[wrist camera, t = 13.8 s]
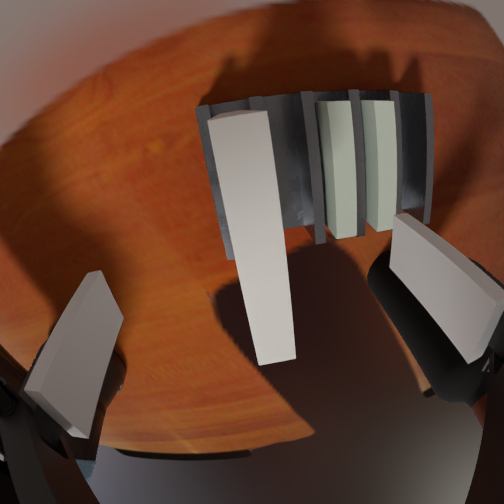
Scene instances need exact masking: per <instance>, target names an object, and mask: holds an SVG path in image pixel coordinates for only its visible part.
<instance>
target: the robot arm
mask: <svg viewBox="0 0 504 504" xmlns="http://www.w3.org/2000/svg"><path fill="white" fill-rule="evenodd" d="M389 267H390V269H391V270H392V271H393V272H394V273H395V274H396V275H397V276H398V277H399V279H400V280H401V281H402V282H403V283H404V284H405V285H406V286H407V288H408V289H409V290H410V291H411V292H412V293H413V295H414V296H415V297H416V298H417V299H418V300H419V302H420V303H421V304H422V305H423V306H424V308H425V309H426V310H427V311H428V312H429V314H430V315H431V316H432V317H433V319H434V320H435V321H436V322H437V324H438V325H439V326H440V327H441V329H442V330H443V331H444V332H445V334H446V335H447V336H448V338H449V339H450V340H451V342H452V343H453V344H454V345H455V347H456V348H457V349H458V351H459V352H460V354H461V355H462V356H463V358H464V359H465V360H466V362H467V363H468V364H469V363H471V362H473V361H474V360H476V359H478V358H480V357H481V356H482V355H483V353H484V351H485V349H486V347H487V346H488V344H489V346H490V347H491V348H492V351H491V352H490V354H489V356H488V358H487V360H486V361H485V363H484V365H483V367H482V370H481V371H484V370H485V368H486V367H487V365H488V364H489V369H488V370H487V372H489V379H488V394H487V405H486V414H485V421H484V428H483V434H482V440H481V445H480V450H479V455H478V459H477V464H476V468H475V472H474V475H473V479H472V483H471V486H470V489H469V493H468V496H467V499H466V502H465V504H504V285H503V284H502V283H501V282H500V281H499V280H497V279H496V278H495V277H493V276H492V274H491V273H490V272H488V271H486V269H485V268H484V267H483V266H481V265H480V264H479V263H478V262H476V261H474V260H472V259H470V258H468V257H465V256H464V255H463V254H462V253H460V252H459V251H458V250H457V249H455V248H454V247H453V246H452V245H450V244H449V243H448V242H446V241H445V240H444V239H443V238H441V237H440V236H439V235H437V234H436V233H435V232H433V231H432V230H431V229H429V228H428V227H426V226H425V225H424V224H422V223H421V222H419V221H418V220H417V219H415V218H414V217H412V216H411V215H409V214H408V213H403V214H397V215H394V217H393V233H392V246H391V257H390V266H389ZM123 319H124V317H123V315H122V313H121V311H120V309H119V307H118V305H117V303H116V301H115V299H114V297H113V295H112V293H111V291H110V289H109V287H108V284H107V282H106V280H105V278H104V276H103V273H102V271H101V270H99V271H94V272H90V273H87V275H86V276H85V278H84V279H83V281H82V282H81V284H80V285H79V287H78V289H77V290H76V292H75V293H74V295H73V297H72V298H71V300H70V302H69V303H68V305H67V307H66V308H65V310H64V312H63V313H62V315H61V317H60V319H59V320H58V322H57V324H56V326H55V328H54V329H53V331H52V333H51V335H50V337H49V338H48V339H47V340H46V341H45V343H44V344H43V345H42V346H41V347H40V349H39V351H38V353H37V355H36V359H34V361H33V363H32V366H31V367H30V369H29V371H27V370H26V369H25V368H24V367H23V366H22V365H20V364H19V363H18V362H17V361H16V360H15V359H14V358H13V357H12V356H11V355H10V354H9V353H8V352H7V351H6V350H5V349H4V347H3V346H2V345H1V344H0V453H1V454H2V455H3V456H4V461H1V460H0V504H100V503H99V502H98V500H97V498H96V497H95V495H94V493H93V492H92V490H91V488H90V486H89V485H88V482H89V481H90V480H91V477H92V473H93V470H94V466H95V464H96V455H97V450H98V445H99V440H100V435H101V430H102V426H103V421H104V417H105V412H106V409H107V407H108V406H109V404H110V403H111V401H112V400H113V398H114V397H115V395H116V394H117V393H118V392H119V391H120V390H121V388H122V386H123V384H124V380H125V376H126V369H125V366H124V363H123V362H122V360H121V358H120V357H119V356H118V355H117V354H116V352H115V351H114V350H113V348H114V345H115V342H116V339H117V336H118V333H119V330H120V327H121V325H122V322H123Z"/></svg>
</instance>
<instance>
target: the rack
mask: <svg viewBox="0 0 504 504" xmlns="http://www.w3.org/2000/svg"><path fill="white" fill-rule="evenodd" d="M360 100H381V101H394V109H395V123H396V144H397V198H396V215H397V214H401V210H404V211H405V212H406V213H408V214H409V215H411V216H412V217H414V218H415V219H417V220H418V221H419V222H421V223H422V224H429V223H430V215H431V205H432V192H433V173H434V122H433V105H432V94H429V93H412V92H398V91H393V90H379V91H359V89H349V90H338V91H325V92H313V91H301V92H296V93H291V94H283V95H274V96H265V97H261V96H254V97H248V98H246V99H244V100H237V101H231V102H226V103H220V104H215V105H209V104H207V105H202V106H198V107H196V108H195V110H196V115H197V120H198V126H199V131H200V136H201V141H202V146H203V151H204V156H205V161H206V165H207V170H208V175H209V180H210V185H211V189H212V194H213V199H214V203H215V208H216V212H217V217H218V222H219V226H220V231H221V235H222V240H223V241H224V246H225V250H226V255H227V259H228V260H232V259H235V256H234V251H233V246H232V242H231V237H230V232H229V227H228V223H227V218H226V213H225V208H224V203H223V198H222V193H221V188H220V183H219V178H218V173H217V168H216V163H215V158H214V153H213V148H212V143H211V138H210V132H209V127H208V122H207V121H208V120H209V119H211V118H213V117H215V116H216V115H218V114H221V113H227V112H232V111H238V110H257V111H267V114H268V121H269V127H270V134H271V141H272V148H273V155H274V162H275V169H276V176H277V184H278V192H279V199H280V207H281V215H282V224H283V229H287V228H293V227H299V226H305V228H306V229H307V231H308V233H309V234H310V236H311V237H312V239H313V241H314V242H315V244H321V243H326V236H325V215H324V198H323V184H322V171H321V160H320V149H319V140H318V131H317V122H316V114H315V106H314V102H318V101H350V103H351V112H352V122H353V134H354V147H355V164H356V190H357V236H356V237H359V236H365V210H366V199H365V160H364V142H363V128H362V116H361V106H360ZM391 230H393V229H391Z"/></svg>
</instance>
